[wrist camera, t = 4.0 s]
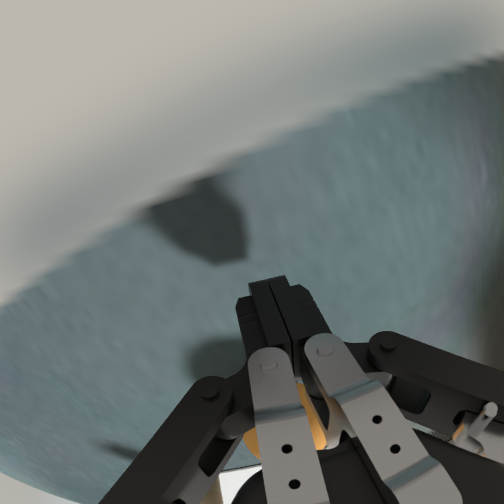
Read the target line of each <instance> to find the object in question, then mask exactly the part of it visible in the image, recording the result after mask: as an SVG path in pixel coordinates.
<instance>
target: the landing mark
mask: <svg viewBox="0 0 504 504" xmlns="http://www.w3.org/2000/svg"><path fill="white" fill-rule="evenodd" d="M323 449H328V447H325V448H323ZM323 449H322V450H323ZM261 469H262V466H261V464H260V465H255V466H250V467H245V468H240V469H234V470H228V471H222V472H221V473H220V474H219V480H220V486H221V492H222V497H223V503H224V504H231V502H232V501H233V499H234V497H235V496H236V494H237V492H238V490H239V489H240V488H241V486H242V485H243V484H244V483H245V482H246V481H247V480H248V479H249V478H250V477H251V476H252V475H253V474H255V473H256V472H258V471H259V470H261Z"/></svg>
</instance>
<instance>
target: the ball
mask: <svg viewBox="0 0 504 504" xmlns="http://www.w3.org/2000/svg"><path fill="white" fill-rule="evenodd" d="M296 385H297V389H298V393H299V397H300V400H301V404H302V406H304V408H305V410H306V414H307V417H308V421H309V425H310V429H311V432H312V436H313V440H314V444H315V448H316V450H322V449H323V448H324V447H325V445H326V439H325V436H324V433H323V431H322V429H321V427H320V425H319V423H318V421H317V419H316V417H315V415H314V413H313V411H312V408H311V406H310V404H309V402H308V400H307V398H306V396H305V386H304V385H303V384H300V383H296ZM243 440H244V442H245V444H246V446H247V447H248V449H249V450H250V451H251V452H252V453H253V454H254V455H255V456H256V457H257V458H258V459H260V453H259V446H258V440H257V433H256V427H254V428H253V429H251V430H249V431H247V432H245V433H244V436H243ZM260 460H261V459H260Z"/></svg>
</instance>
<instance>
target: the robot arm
mask: <svg viewBox="0 0 504 504" xmlns="http://www.w3.org/2000/svg"><path fill="white" fill-rule="evenodd" d="M248 286H249V292H250V296H246V297H242V298H238V301H237V304H236V307H235V308H236V313H237V317H238V322H239V327H240V331H241V335H242V340H243V344H244V348H245V352H246V356H247V360H246V363H245V365H244V367H243V368H242V369H241V370H240V371H239V372H238V373H237V374H235V375H233V376H231V377H229V378H227V379H223V378H221V377H218V376H208V377H204V378H202V379H200V380H198V381H196V382H195V383H194V384H193V385H192V387H191V388H190V389H189V391H188V392H187V393H186V394H185V396H184V397H183V398H182V400H181V401H180V402H179V404H178V405H177V406H176V407H175V409H174V410H173V411H172V413H171V414H170V415H169V417H168V418H167V419H166V420H165V422H164V423H163V424H162V426H161V427H160V428H159V429H158V431H157V432H156V433H155V434H154V436H153V437H152V438H151V439H150V441H149V442H148V443H147V445H146V446H145V447H144V448H143V450H142V451H141V452H140V453H139V455H138V456H137V457H136V458H135V460H134V461H133V462H132V463H131V465H130V466H129V467H128V468H127V469H126V471H125V472H124V473H123V474H122V476H121V477H120V478H119V479H118V481H117V482H116V483H115V484H114V485H113V487H112V488H111V489H110V490H109V491H108V493H107V494H106V495H105V496H104V498H103V499H102V500H101V501H100V502H99V504H200V502H201V501H202V499H203V498H204V497H205V495H206V494H207V492H208V491H209V489H210V488H211V486H212V485H213V483H214V482H215V480H216V479H217V477H218V476H219V474H220V473H221V471H222V470H223V468H224V466H225V465H226V463H227V462H228V460H229V459H230V457H231V456H232V454H233V452H234V451H235V449H236V448H237V446H238V444H239V443H240V441H241V440H242V438H243V436H244V433H245V432H247V431H249V430H251V429H253V428H254V427H256V433H257V440H258V446H259V453H260V459H261V466H262V469H261V470H259V471H258V472H256V473H255V474H253V475H252V476H251V477H250V478H249V479H248V480H247V481H246V482H245V483H244V484H243V485H242V486H241V488H240V489H239V490H238V492H237V494H236V496H235V497H234V499H233V501H232V502H231V504H504V372H502V371H500V370H497V369H494V368H491V367H488V366H485V365H483V364H480V363H477V362H474V361H471V360H469V359H466V358H463V357H460V356H457V355H455V354H452V353H449V352H446V351H444V350H441V349H438V348H436V347H433V346H430V345H427V344H425V343H422V342H419V341H417V340H414V339H411V338H409V337H406V336H403V335H401V334H398V333H395V332H392V331H382V332H379V333H376V334H375V335H373V336H372V337H371V339H370V340H369V343H347V342H344V341H342V339H340V338H339V337H338V336H336V335H333V334H332V332H331V331H330V329H329V327H328V325H327V323H326V321H325V319H324V318H323V316H322V314H321V312H320V310H319V308H317V305H316V303H315V301H314V300H313V298H312V296H311V294H310V292H309V290H307V289H306V288H304V287H303V286H301V285H300V284H298V285H294V286H290V285H289V283H288V281H287V279H286V277H285V275H283V276H278V277H274V278H269V279H267V280H266V279H265V280H261V281H256V282H252V283H248ZM298 380H302V381H303V383H304V386H305V396H306V398H307V400H308V402H309V404H310V406H311V408H312V411H313V413H314V415H315V417H316V419H317V421H318V423H319V425H320V427H321V429H322V431H323V433H324V436H325V439H326V444H327V447H328V449H323V450H316V448H315V444H314V440H313V436H312V432H311V429H310V425H309V421H308V417H307V414H306V410H305V408H304V406H302V404H301V400H300V397H299V393H298V389H297V385H296V381H298ZM406 419H408V420H410V421H412V422H415V423H417V424H420V425H422V426H425V427H427V428H430V429H432V430H435V431H437V432H440V433H443V434H445V435H448V436H451V437H453V442H454V445H453V444H451V443H448V442H446V441H443V440H441V439H439V438H436V437H434V436H432V435H429V434H427V433H425V432H423V431H420V430H417V429H414V428H411V426H410V425H409V423H408V422H407V420H406Z"/></svg>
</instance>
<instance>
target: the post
mask: <svg viewBox="0 0 504 504" xmlns="http://www.w3.org/2000/svg"><path fill="white" fill-rule="evenodd" d="M200 504H224V503H223V497H222V492H221V486H220V480H219V476H218V477H217V479H216V480H215V482H214V483H213V485H212V486H211V488H210V489H209V491H208V492H207V494H206V495H205V497H204V498H203V499H202V501H201V502H200Z"/></svg>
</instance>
